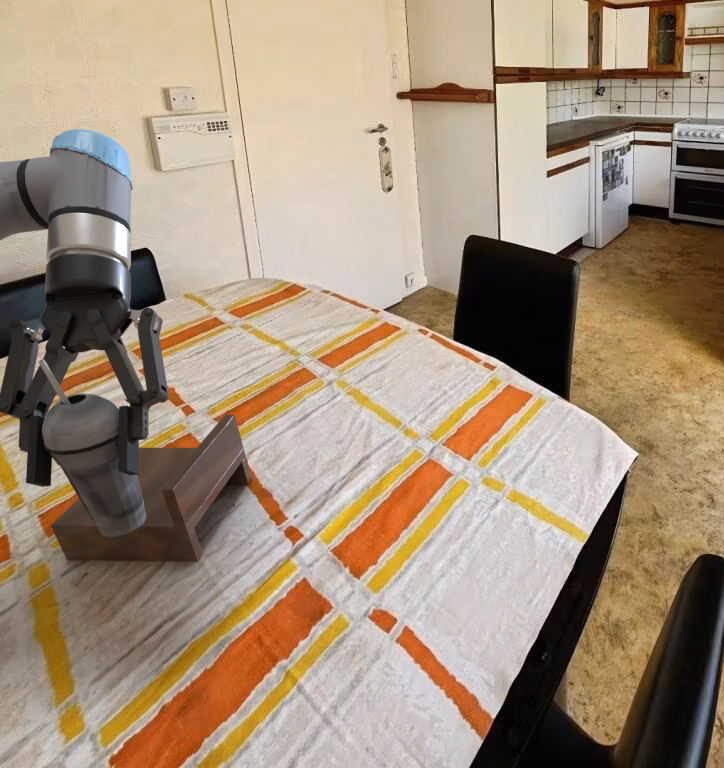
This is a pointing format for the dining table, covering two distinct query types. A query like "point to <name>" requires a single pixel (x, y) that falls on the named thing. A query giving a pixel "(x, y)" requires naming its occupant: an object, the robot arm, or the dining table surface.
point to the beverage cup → (93, 459)
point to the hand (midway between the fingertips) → (84, 478)
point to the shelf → (164, 501)
